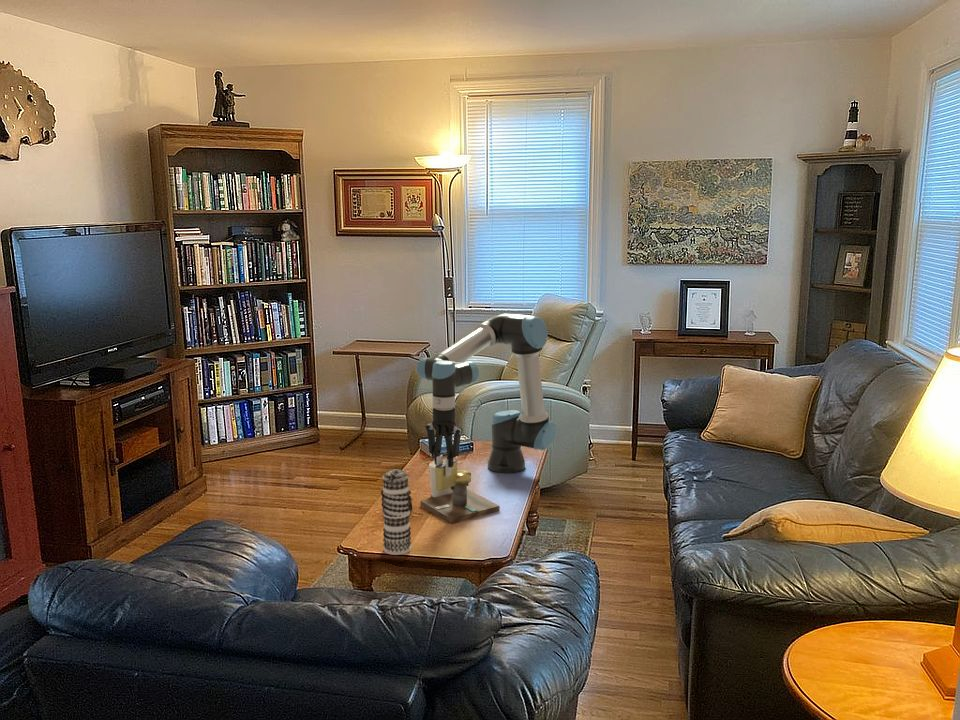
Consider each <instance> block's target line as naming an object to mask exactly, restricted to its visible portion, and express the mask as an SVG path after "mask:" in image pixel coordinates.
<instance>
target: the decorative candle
mask: <svg viewBox="0 0 960 720" xmlns="http://www.w3.org/2000/svg"><path fill="white" fill-rule="evenodd" d="M409 477H410V475H409V474H408V473H406V472H405V470H403V469H397V468H396V469H395V468H394V469H389V470H387V471H386V472H385V473H384V474H383V475H381V478H382V479H383V480H382V483H383V485H382V489H381V490H380V495H381V506H382V507H381V508H382V510H381V512H382V516H384V517H383V518H384V519H383V520H384V522H383V529H382V532H383V534H382V536H383V539H382V541H383V544H382V545H383V552H385V554H388V555H393V556H394V555H395V556H397V555H399V556H400V555H405V554H407V553H409V552H410V551H411V550H412V547H411V544H412V542H411V540H412V537H411V533H412V532H411V525H410V516H409V515H410V514H411V511H410V509H411V508H410V507H409V505H410V504H411V503H410V502H409V499H411V498H412V497H411V494H412V491H411V490H410V487H409Z"/></svg>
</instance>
